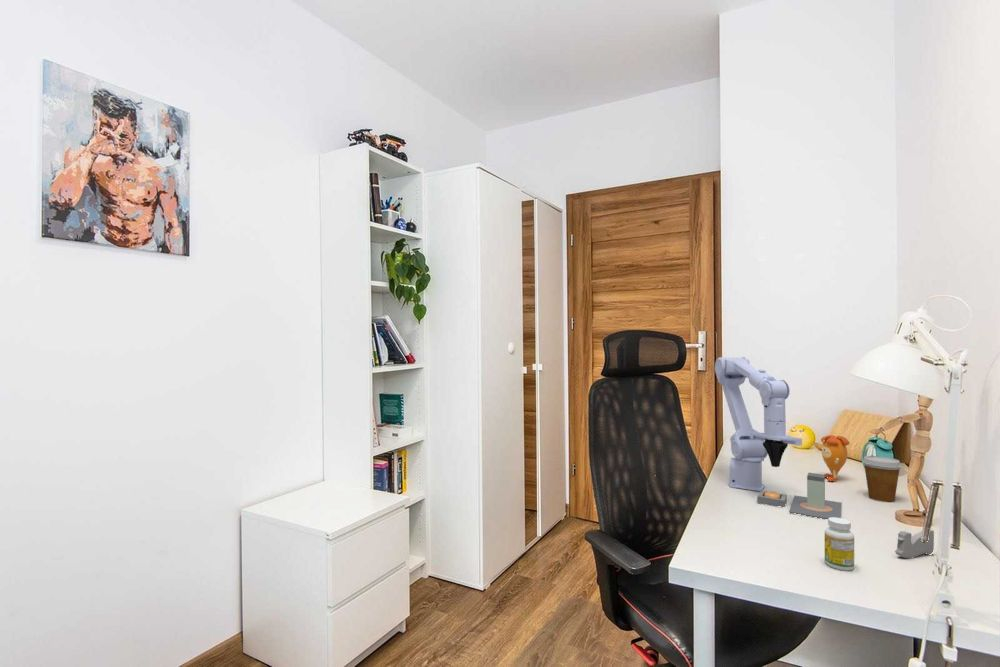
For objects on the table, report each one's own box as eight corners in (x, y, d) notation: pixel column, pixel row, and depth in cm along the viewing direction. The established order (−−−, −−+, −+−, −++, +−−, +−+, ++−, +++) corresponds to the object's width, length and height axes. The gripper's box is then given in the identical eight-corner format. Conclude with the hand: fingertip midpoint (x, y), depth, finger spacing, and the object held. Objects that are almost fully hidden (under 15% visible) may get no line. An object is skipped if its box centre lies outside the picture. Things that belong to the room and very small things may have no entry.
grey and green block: (807, 507, 145) (807, 475, 145) (808, 503, 148) (808, 472, 148) (823, 509, 143) (823, 477, 143) (824, 506, 146) (824, 474, 146)
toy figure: (818, 474, 182) (818, 432, 182) (844, 477, 179) (844, 434, 179) (825, 483, 171) (826, 438, 171) (854, 486, 168) (854, 440, 168)
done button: (763, 500, 150) (763, 494, 150) (765, 497, 154) (765, 490, 154) (779, 503, 148) (779, 496, 148) (780, 499, 151) (780, 493, 152)
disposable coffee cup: (896, 496, 157) (896, 457, 157) (905, 505, 148) (905, 464, 148) (859, 492, 161) (859, 454, 161) (866, 501, 152) (866, 460, 152)
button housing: (757, 503, 150) (757, 496, 150) (760, 497, 156) (760, 490, 156) (784, 507, 146) (784, 500, 146) (786, 501, 152) (786, 494, 152)
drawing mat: (788, 513, 142) (788, 511, 142) (794, 496, 156) (794, 494, 156) (840, 522, 135) (840, 520, 135) (841, 503, 150) (841, 502, 150)
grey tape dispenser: (933, 555, 115) (900, 560, 112) (927, 553, 116) (893, 557, 113) (933, 530, 115) (900, 533, 112) (927, 527, 116) (894, 531, 113)
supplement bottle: (852, 573, 105) (852, 527, 105) (822, 565, 109) (822, 520, 109) (855, 564, 109) (855, 520, 110) (826, 557, 113) (826, 514, 113)
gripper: (806, 422, 149) (807, 469, 148) (758, 417, 161) (759, 460, 160) (794, 424, 145) (795, 472, 144) (745, 418, 157) (746, 463, 156)
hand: (775, 466), depth 152 cm, fingers closed
